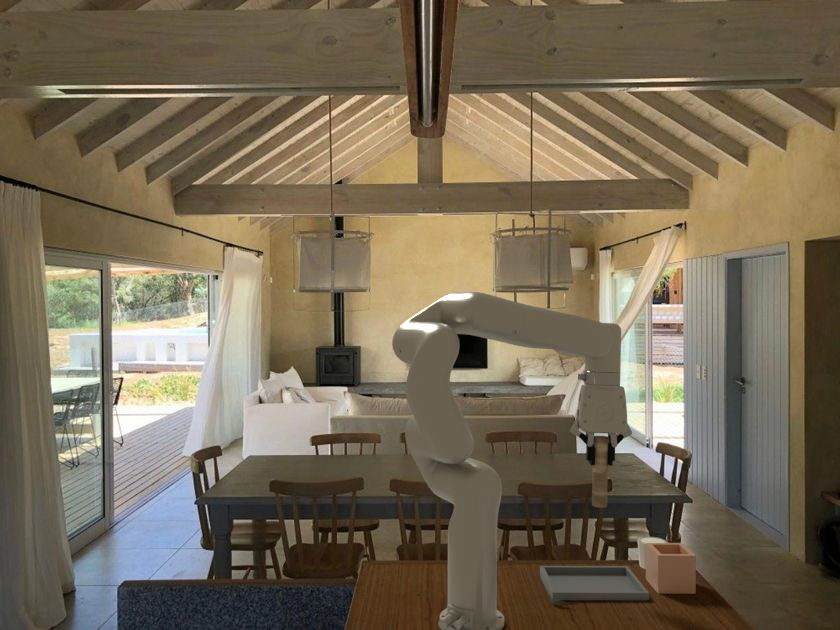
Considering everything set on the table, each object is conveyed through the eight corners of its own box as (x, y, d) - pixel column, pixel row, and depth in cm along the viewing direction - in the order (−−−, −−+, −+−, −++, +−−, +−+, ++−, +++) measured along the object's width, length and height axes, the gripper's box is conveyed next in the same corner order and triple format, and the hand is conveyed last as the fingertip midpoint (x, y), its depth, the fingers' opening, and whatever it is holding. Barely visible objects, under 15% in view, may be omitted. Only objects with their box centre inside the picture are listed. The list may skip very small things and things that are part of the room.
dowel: (604, 508, 150) (605, 438, 150) (589, 506, 152) (591, 436, 152) (609, 505, 153) (610, 436, 153) (594, 502, 155) (596, 434, 155)
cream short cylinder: (670, 577, 161) (670, 546, 161) (638, 574, 162) (638, 544, 162) (665, 566, 167) (665, 537, 167) (635, 564, 169) (635, 535, 169)
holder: (657, 597, 149) (658, 555, 149) (645, 583, 157) (645, 542, 157) (695, 597, 149) (695, 555, 149) (681, 583, 157) (681, 543, 157)
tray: (552, 604, 146) (552, 592, 146) (540, 576, 161) (540, 565, 161) (649, 604, 146) (649, 592, 146) (627, 577, 161) (627, 566, 161)
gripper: (567, 380, 149) (565, 467, 149) (645, 382, 149) (643, 469, 149) (561, 377, 156) (559, 459, 156) (634, 378, 156) (633, 461, 156)
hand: (600, 463), depth 153 cm, fingers closed on dowel, 3 cm apart
